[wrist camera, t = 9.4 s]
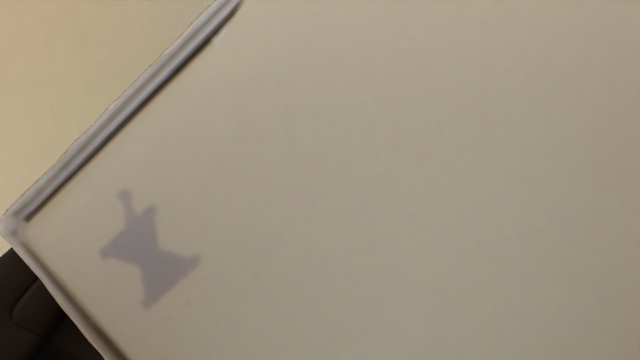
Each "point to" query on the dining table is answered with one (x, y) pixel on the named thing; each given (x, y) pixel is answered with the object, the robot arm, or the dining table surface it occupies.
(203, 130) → the cosmetic box
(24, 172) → the dining table surface
